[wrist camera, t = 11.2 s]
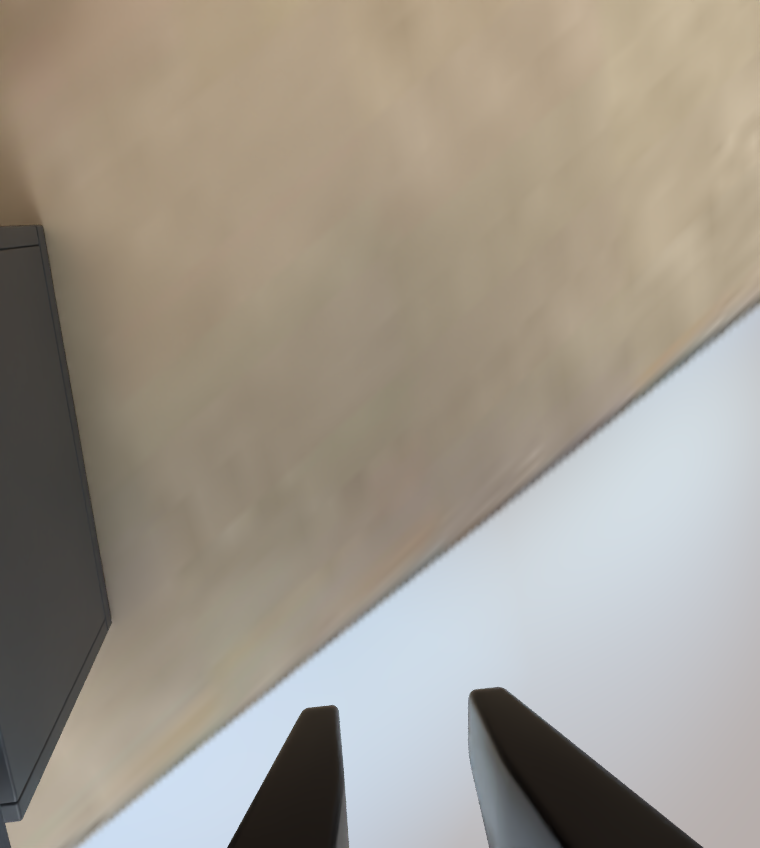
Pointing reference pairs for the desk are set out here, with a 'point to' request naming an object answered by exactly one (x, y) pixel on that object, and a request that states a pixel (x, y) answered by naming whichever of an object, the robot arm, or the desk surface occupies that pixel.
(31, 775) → the box
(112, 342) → the desk surface
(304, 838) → the robot arm
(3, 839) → the panel
